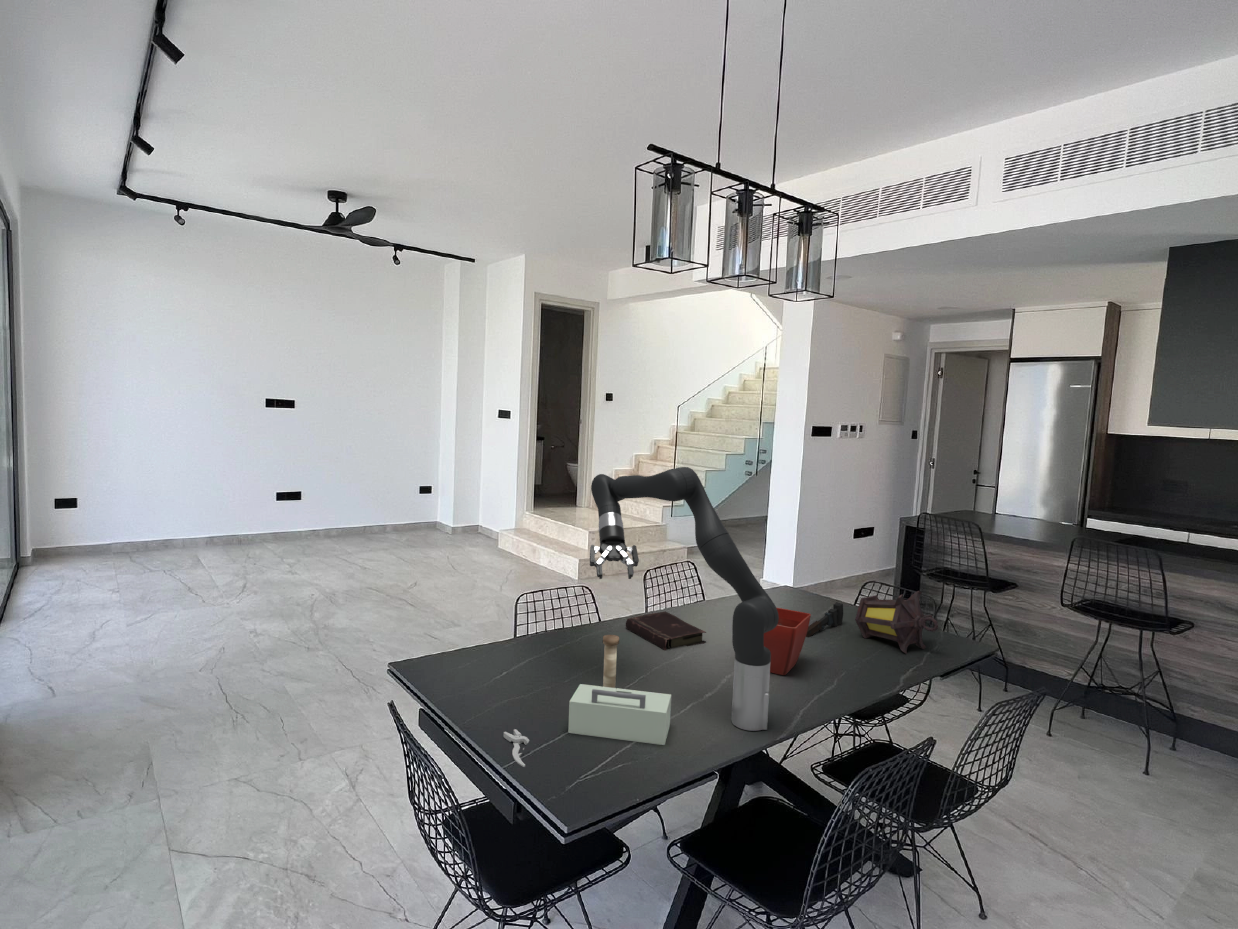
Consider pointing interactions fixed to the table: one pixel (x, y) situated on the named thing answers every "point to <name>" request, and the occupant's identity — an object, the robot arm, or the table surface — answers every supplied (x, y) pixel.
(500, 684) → the table surface
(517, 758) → the pliers
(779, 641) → the plant pot
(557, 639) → the table surface
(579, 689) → the toolbox
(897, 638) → the lantern
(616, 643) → the beige long cylinder
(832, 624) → the dark stepped piece
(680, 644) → the diary
